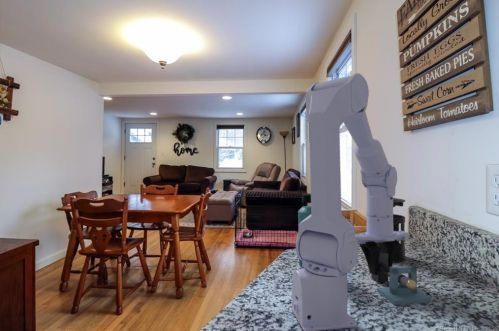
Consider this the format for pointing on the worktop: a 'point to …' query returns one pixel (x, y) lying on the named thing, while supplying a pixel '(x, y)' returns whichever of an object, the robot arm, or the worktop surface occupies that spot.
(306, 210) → the beverage bottle
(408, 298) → the eye bracket
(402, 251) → the french press
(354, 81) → the robot arm
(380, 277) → the hook rod
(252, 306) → the worktop surface
